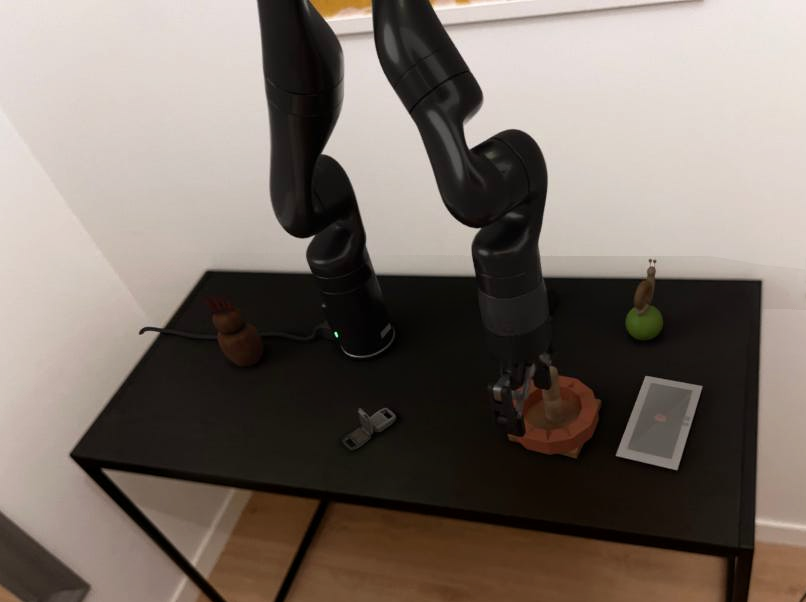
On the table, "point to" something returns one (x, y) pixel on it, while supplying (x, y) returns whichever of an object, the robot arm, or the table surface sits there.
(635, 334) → the snail figurine
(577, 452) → the stand
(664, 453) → the touchpad
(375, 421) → the strap clip
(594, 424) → the ring
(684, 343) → the table surface
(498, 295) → the robot arm
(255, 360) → the wooden figurine
